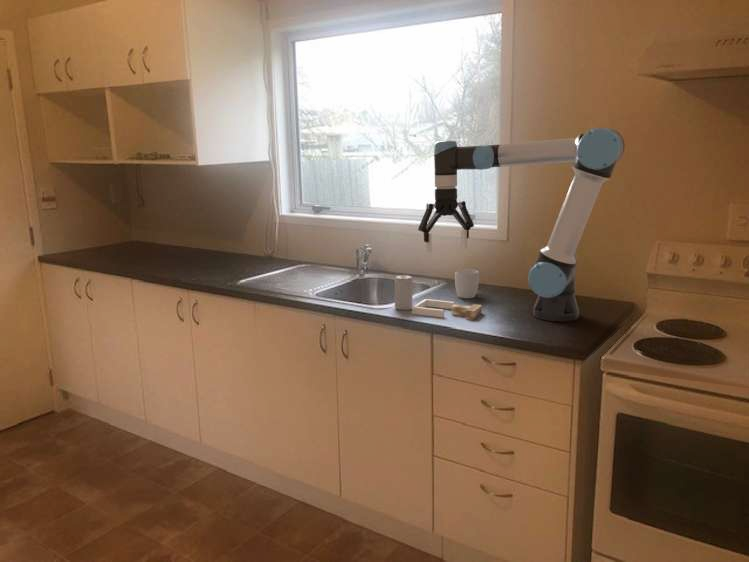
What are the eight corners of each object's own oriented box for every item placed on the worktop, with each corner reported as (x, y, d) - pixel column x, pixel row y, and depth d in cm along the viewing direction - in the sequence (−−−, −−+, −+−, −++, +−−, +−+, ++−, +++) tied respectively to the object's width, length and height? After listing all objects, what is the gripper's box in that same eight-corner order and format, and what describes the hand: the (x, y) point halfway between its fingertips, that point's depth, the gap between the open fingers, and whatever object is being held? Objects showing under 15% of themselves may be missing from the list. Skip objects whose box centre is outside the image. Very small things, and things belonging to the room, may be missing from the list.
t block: (481, 313, 219) (481, 305, 218) (474, 319, 211) (474, 311, 211) (457, 310, 223) (457, 302, 222) (448, 316, 215) (449, 308, 214)
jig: (454, 308, 225) (454, 302, 225) (443, 317, 214) (443, 310, 214) (424, 305, 230) (425, 299, 229) (412, 314, 219) (412, 307, 218)
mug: (470, 300, 236) (471, 275, 234) (450, 297, 242) (450, 272, 239) (486, 294, 246) (487, 269, 244) (467, 291, 251) (467, 266, 249)
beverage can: (411, 306, 229) (411, 274, 226) (413, 311, 223) (413, 278, 220) (394, 306, 229) (394, 275, 226) (395, 311, 223) (395, 278, 220)
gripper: (472, 185, 217) (472, 245, 221) (407, 189, 208) (409, 251, 213) (483, 186, 210) (483, 248, 215) (417, 190, 201) (418, 254, 206)
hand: (446, 249), depth 214 cm, fingers open, 13 cm apart
